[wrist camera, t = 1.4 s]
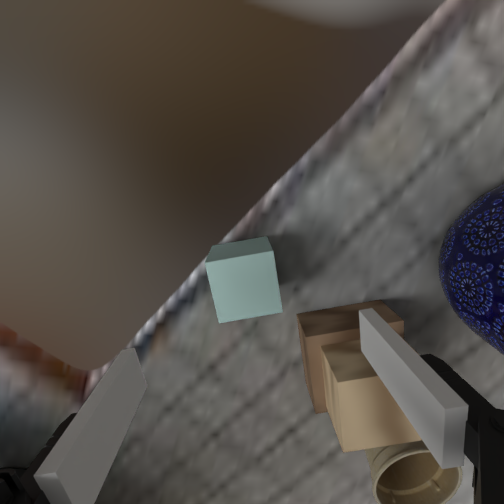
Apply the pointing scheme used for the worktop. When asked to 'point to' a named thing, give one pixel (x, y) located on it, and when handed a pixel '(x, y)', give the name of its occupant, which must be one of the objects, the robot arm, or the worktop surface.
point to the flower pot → (410, 475)
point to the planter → (477, 267)
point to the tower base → (334, 339)
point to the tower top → (361, 401)
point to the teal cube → (243, 279)
